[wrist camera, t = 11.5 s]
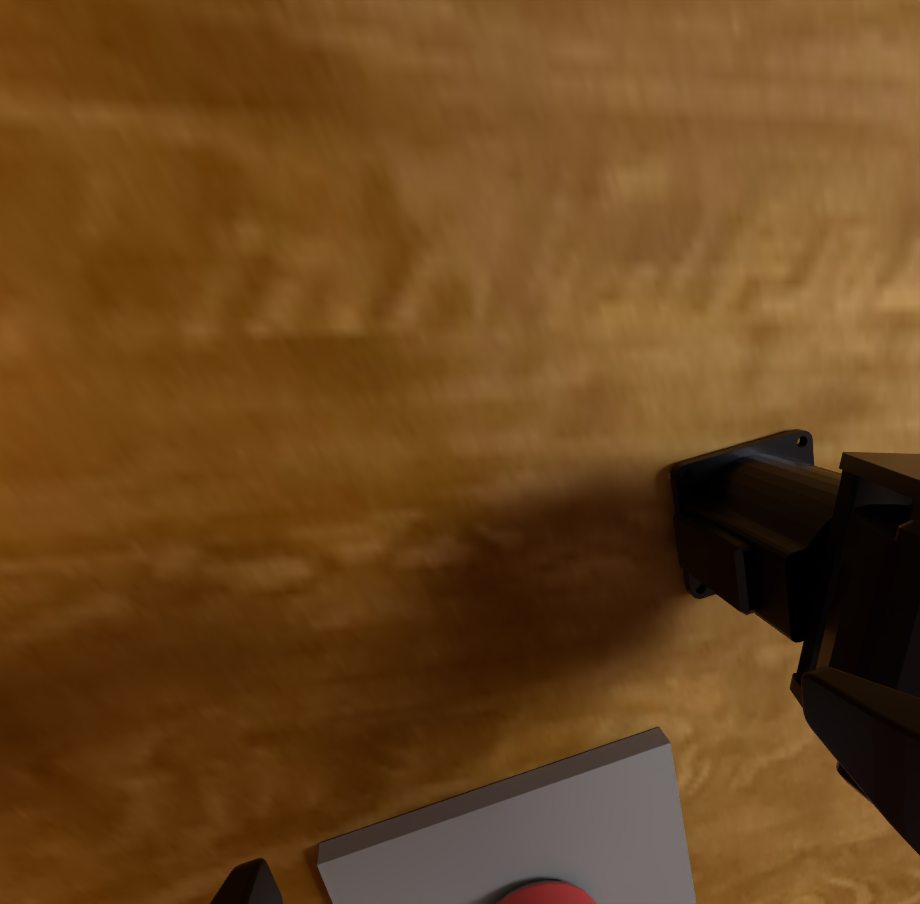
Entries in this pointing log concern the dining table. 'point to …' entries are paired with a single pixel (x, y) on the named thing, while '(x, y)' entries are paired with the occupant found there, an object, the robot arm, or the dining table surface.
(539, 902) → the beer can
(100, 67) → the dining table surface
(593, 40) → the dining table surface
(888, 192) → the dining table surface
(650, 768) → the slate board
